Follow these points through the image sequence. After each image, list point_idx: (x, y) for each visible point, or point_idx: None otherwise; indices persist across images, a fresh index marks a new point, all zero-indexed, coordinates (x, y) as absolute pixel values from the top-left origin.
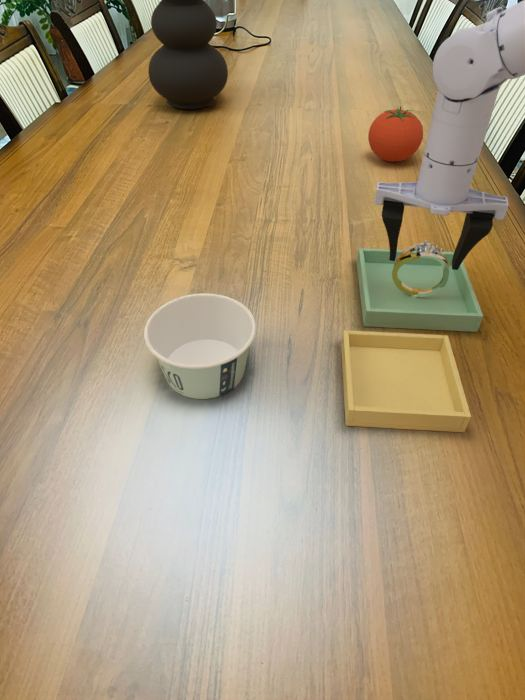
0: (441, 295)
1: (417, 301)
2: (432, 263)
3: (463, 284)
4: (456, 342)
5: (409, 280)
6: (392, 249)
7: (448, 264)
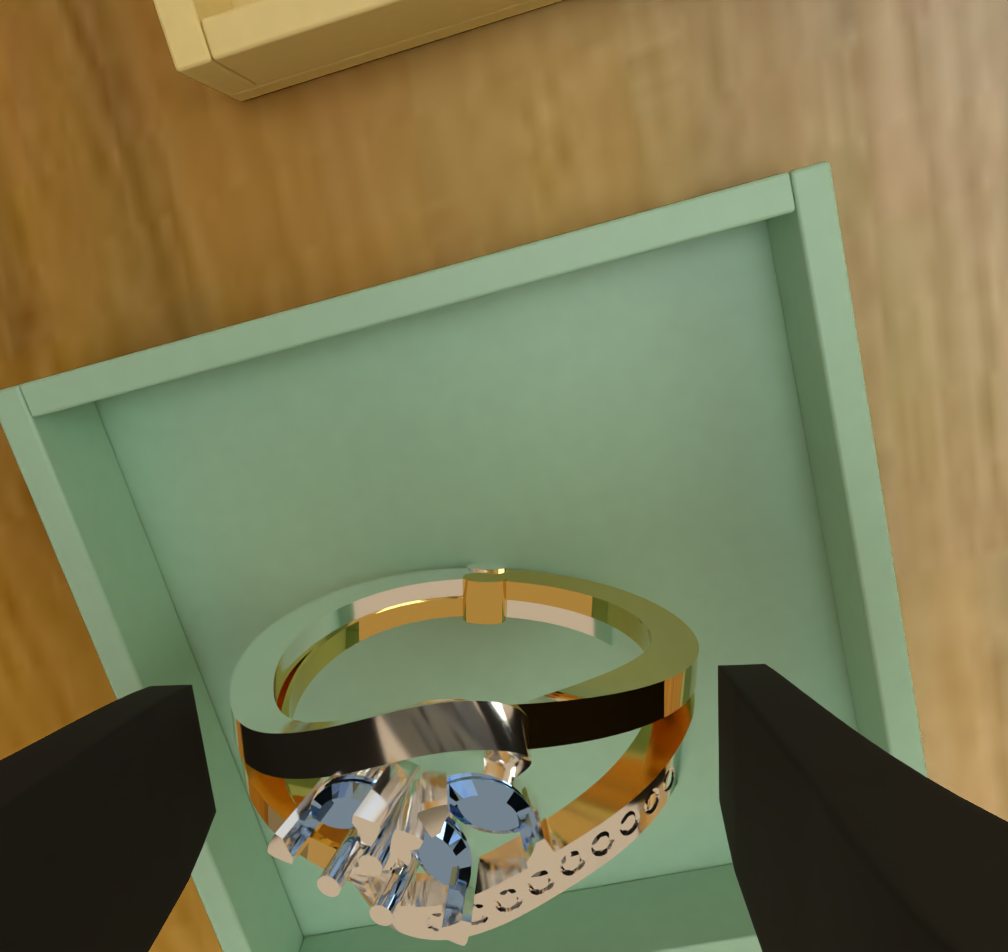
0: None
1: (460, 532)
2: None
3: None
4: (173, 228)
5: None
6: (808, 712)
7: (241, 763)
